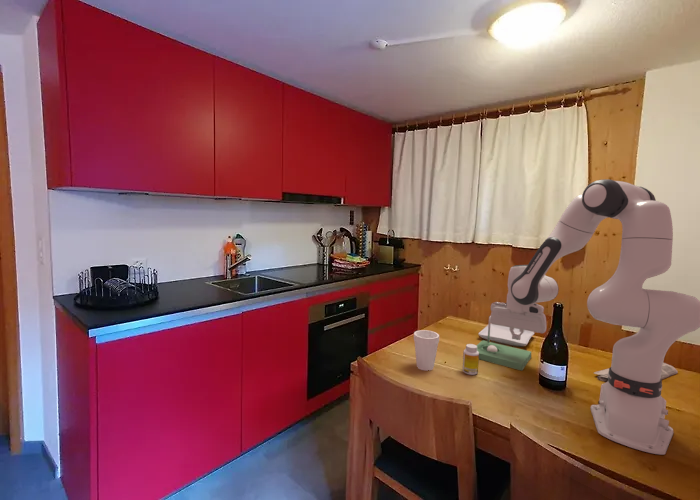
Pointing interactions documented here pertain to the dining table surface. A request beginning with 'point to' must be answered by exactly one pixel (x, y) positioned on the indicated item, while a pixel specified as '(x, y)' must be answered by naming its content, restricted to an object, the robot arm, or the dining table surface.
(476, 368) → the supplement bottle
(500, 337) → the salad plate
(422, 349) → the foam cup
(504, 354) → the golf putting green
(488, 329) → the flag pin
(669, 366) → the newspaper
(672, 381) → the dining table surface
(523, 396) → the dining table surface
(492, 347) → the ball
